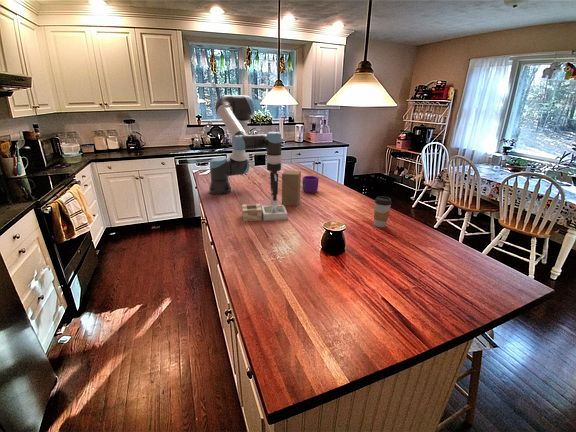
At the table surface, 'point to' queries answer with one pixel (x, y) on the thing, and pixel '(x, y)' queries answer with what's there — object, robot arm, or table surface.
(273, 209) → the glass vial with cap
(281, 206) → the tray
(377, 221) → the coffee cup
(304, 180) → the mug
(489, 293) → the table surface
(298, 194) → the wooden block
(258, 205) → the hollow square frame
